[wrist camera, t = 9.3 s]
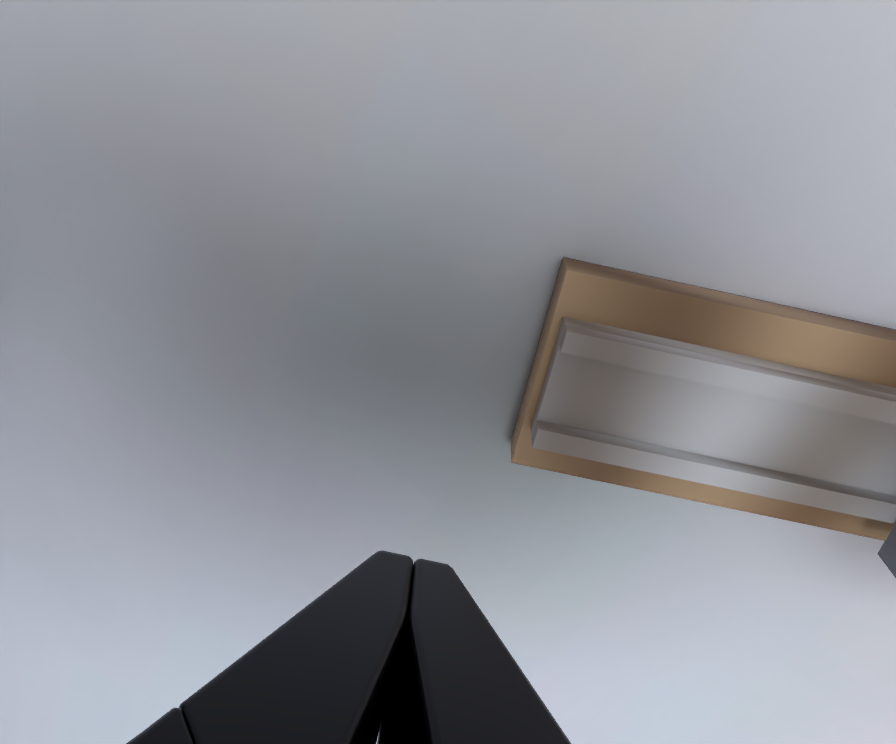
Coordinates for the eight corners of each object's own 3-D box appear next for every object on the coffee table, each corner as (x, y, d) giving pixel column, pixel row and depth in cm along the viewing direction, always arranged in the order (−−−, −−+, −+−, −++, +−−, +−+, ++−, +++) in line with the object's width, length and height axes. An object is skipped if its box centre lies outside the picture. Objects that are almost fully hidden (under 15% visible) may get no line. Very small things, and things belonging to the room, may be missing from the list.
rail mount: (510, 441, 22) (515, 560, 17) (563, 256, 20) (586, 332, 15) (1049, 555, 23) (1208, 702, 18) (1167, 389, 20) (1393, 506, 15)
